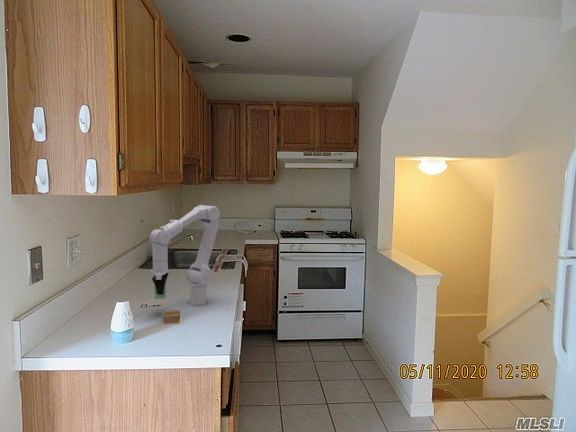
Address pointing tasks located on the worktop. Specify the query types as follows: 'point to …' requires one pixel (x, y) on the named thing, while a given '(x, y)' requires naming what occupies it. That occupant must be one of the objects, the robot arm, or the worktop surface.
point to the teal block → (160, 295)
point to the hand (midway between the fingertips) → (160, 292)
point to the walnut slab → (171, 317)
